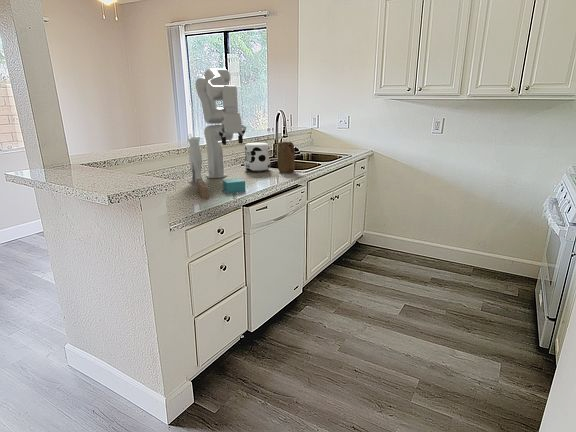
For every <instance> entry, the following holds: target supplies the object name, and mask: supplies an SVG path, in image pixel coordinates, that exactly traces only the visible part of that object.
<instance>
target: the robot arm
mask: <svg viewBox="0 0 576 432" xmlns="http://www.w3.org/2000/svg"><path fill="white" fill-rule="evenodd" d="M230 82H231V74H230V71H229V70H228V69H226V68H207V69H206V70H205V71H204V76H203V77H198V78H197V79H195V90H196V94H197V96H198V98H199V99H200V102H201V107H202V114H203V119H204V122H205V123H206V124H208V125H206V127H205V128H204V129H203V133H204V134H203V135H204V139H205V143H206V144H205V145H206V153H207V154H206V155H207V166H208V167H207V169H208V173H207V174H206V175H205V176H206V178H209V179H221V178H225V177H227V173H225V168H224V152H223V147H222V145H223V146H226V145H227V141H230V140H232V139H233V138H234V134H237V135H238V136H237V139H238V140H237V141H238V144H243V142H244V139H243V138H244V137H243V136H244V135H245V133H246V130H247V126H245V125H243V123H242V118H241V117H242V116H241V114H240V112H239V108H238V106H239V105H238V88H237V86H236V85H231V84H230ZM217 101H218V102H219V101H222V107H217ZM220 141H221V144H220V143H219V142H220Z"/></svg>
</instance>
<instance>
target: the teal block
mask: <svg viewBox="0 0 576 432" xmlns="http://www.w3.org/2000/svg"><path fill="white" fill-rule="evenodd" d="M222 188H223V189H222V191H223V192H225V193H226V194H227V195H228V193H229V194H234V193H235V194H237V192H238V193H245V192H246V180H244V179H242V178H241V177H237V178H227V179H222Z"/></svg>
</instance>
